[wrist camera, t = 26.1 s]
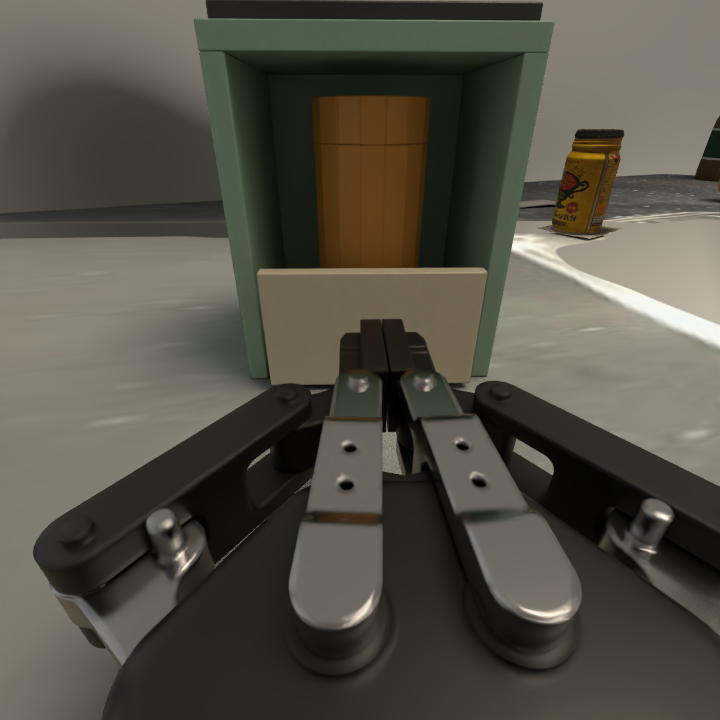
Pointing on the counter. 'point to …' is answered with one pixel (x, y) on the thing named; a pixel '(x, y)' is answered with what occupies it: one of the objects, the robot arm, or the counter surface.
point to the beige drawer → (367, 315)
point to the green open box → (372, 77)
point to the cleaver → (535, 203)
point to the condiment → (587, 183)
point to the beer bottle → (711, 157)
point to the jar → (370, 179)
